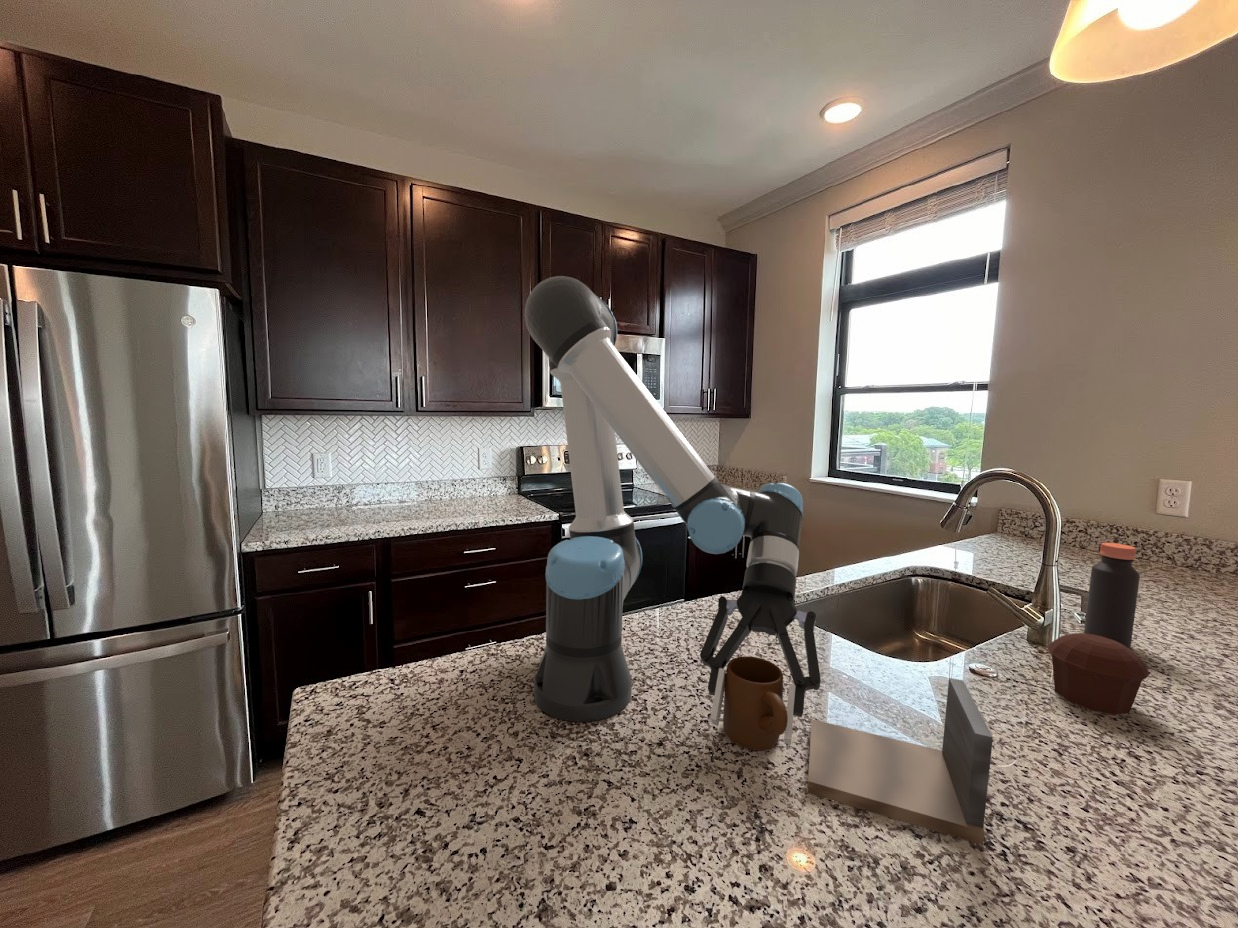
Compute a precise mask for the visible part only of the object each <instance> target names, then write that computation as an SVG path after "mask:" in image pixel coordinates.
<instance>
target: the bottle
mask: <svg viewBox="0 0 1238 928" xmlns="http://www.w3.org/2000/svg"><path fill="white" fill-rule="evenodd" d="M1136 553H1137V548H1136V547H1135V546H1131V545H1127V544H1123V543H1114V542H1101V543H1100V551H1099V556H1100V558H1101V560H1100V561H1099V562H1097V563H1095V564H1093V565H1092V567H1091V571H1090V580H1089V588H1088V597H1087V603H1086V604H1087V605H1086V611H1085V613H1086V614H1085V622H1084V628H1083V629H1084V630H1083V633H1085V634H1093V635H1098V636H1102V637H1105V638H1108V639H1111V640H1114V641H1116V642H1119V643H1121V644H1122V645H1124V646H1126V647H1127V648H1129V649H1131V647H1132V641H1133V640H1132V639H1133V632H1134V623H1135V616H1136V608H1137V601H1138V593H1139V585H1140V578H1141V576H1140V573H1139V571H1137V570H1136V568H1135V567H1133V566H1132V565H1133V563H1134V562H1135V560H1136V556H1137V555H1136Z"/></svg>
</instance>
